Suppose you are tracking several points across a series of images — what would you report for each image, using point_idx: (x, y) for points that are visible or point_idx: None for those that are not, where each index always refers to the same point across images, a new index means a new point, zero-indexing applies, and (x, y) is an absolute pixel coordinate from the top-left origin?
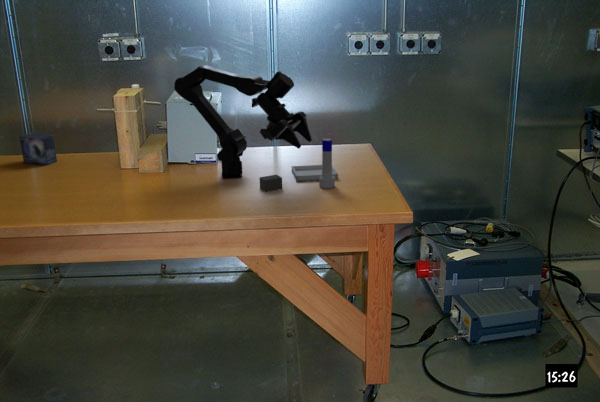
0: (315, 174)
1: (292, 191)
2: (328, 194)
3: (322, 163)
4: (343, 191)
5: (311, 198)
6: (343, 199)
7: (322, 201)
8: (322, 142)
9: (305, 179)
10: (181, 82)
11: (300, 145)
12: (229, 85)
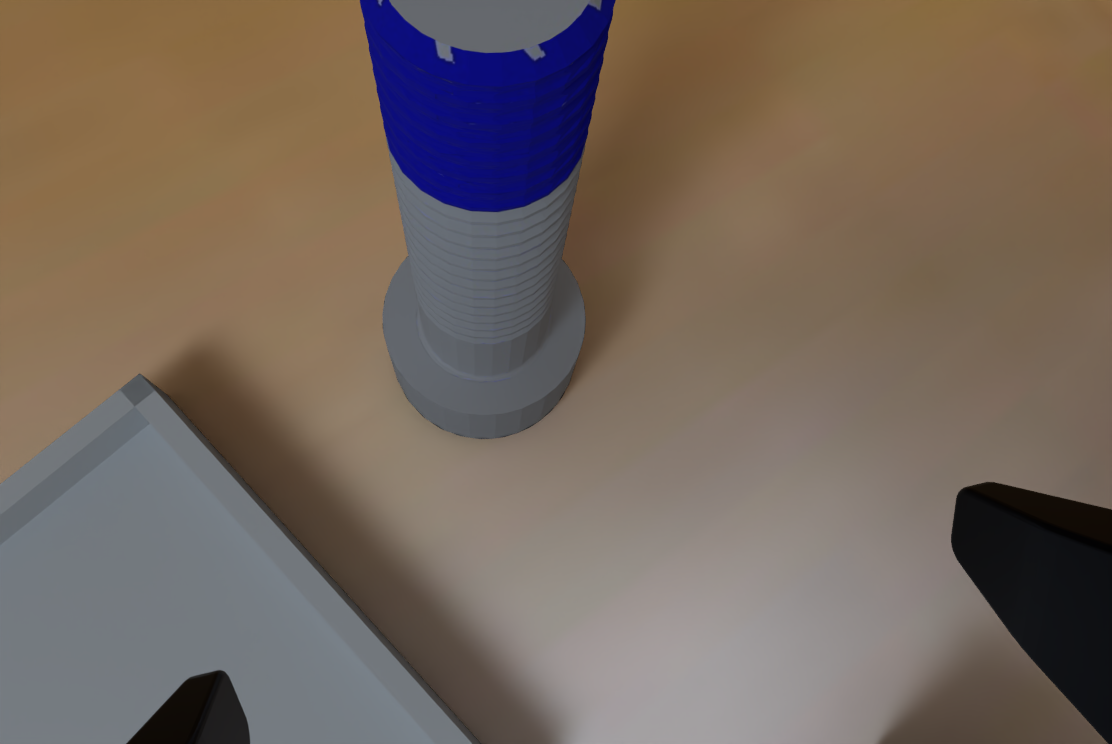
0: None
1: (854, 590)
2: (692, 210)
3: (548, 279)
4: None
5: (898, 284)
6: (727, 29)
7: (896, 154)
8: (576, 79)
9: (441, 703)
10: None
11: (989, 490)
12: None
